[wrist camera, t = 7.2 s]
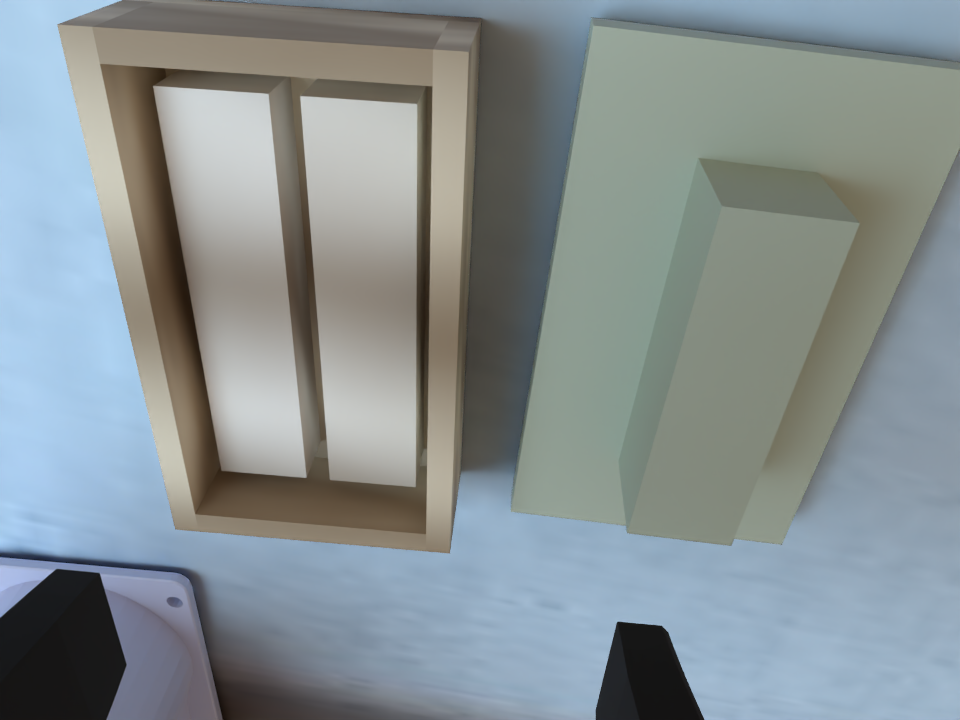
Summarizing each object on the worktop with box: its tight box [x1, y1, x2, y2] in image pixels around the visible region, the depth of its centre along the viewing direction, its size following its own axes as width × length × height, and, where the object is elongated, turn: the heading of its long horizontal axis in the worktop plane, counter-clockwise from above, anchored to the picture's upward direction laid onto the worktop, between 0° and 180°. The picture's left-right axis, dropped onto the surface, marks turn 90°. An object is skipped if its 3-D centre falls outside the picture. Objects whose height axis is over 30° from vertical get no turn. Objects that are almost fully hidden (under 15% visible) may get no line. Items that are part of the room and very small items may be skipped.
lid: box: [511, 17, 960, 546], centre depth 17 cm, size 12×7×4 cm, turn 174°
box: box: [58, 0, 481, 553], centre depth 18 cm, size 12×7×3 cm, turn 177°
